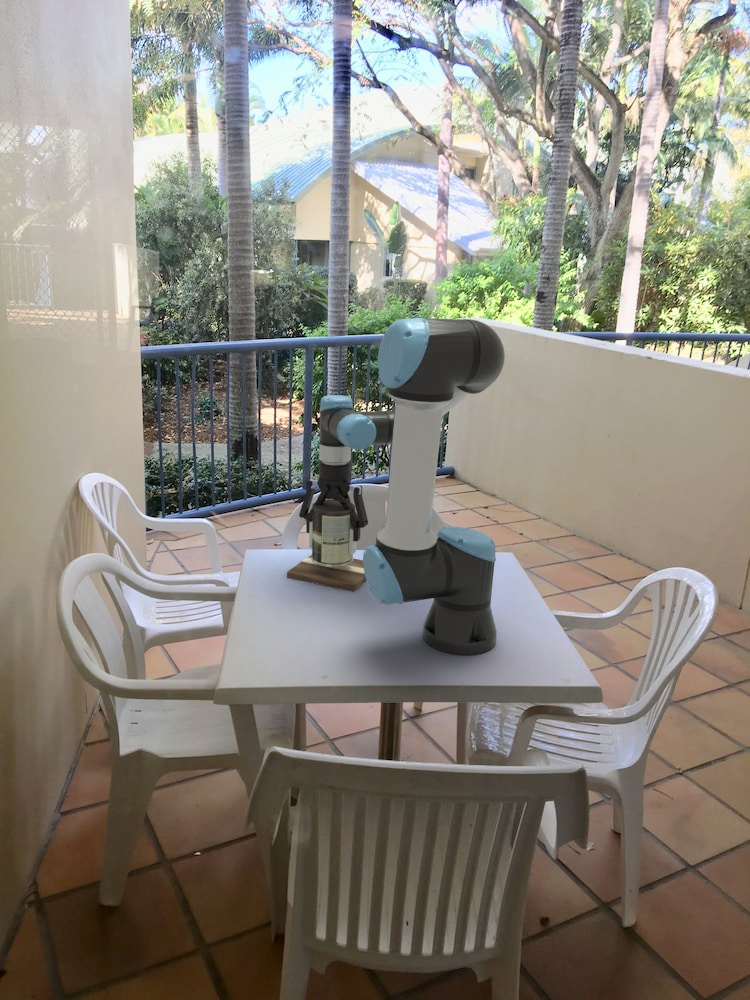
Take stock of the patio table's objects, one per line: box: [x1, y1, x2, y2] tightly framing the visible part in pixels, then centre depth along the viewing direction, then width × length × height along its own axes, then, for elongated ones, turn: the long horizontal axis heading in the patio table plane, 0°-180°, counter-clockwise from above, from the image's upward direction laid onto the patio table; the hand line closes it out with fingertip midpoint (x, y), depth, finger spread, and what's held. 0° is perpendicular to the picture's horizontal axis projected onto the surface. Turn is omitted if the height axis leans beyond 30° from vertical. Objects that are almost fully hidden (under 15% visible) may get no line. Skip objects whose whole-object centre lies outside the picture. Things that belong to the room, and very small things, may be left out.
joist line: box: [300, 557, 365, 574], centre depth 186 cm, size 3×18×1 cm, turn 68°
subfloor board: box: [286, 554, 367, 592], centre depth 185 cm, size 16×18×2 cm
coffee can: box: [311, 499, 356, 567], centre depth 181 cm, size 10×10×14 cm
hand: (332, 549), depth 182 cm, fingers closed on coffee can, 10 cm apart
